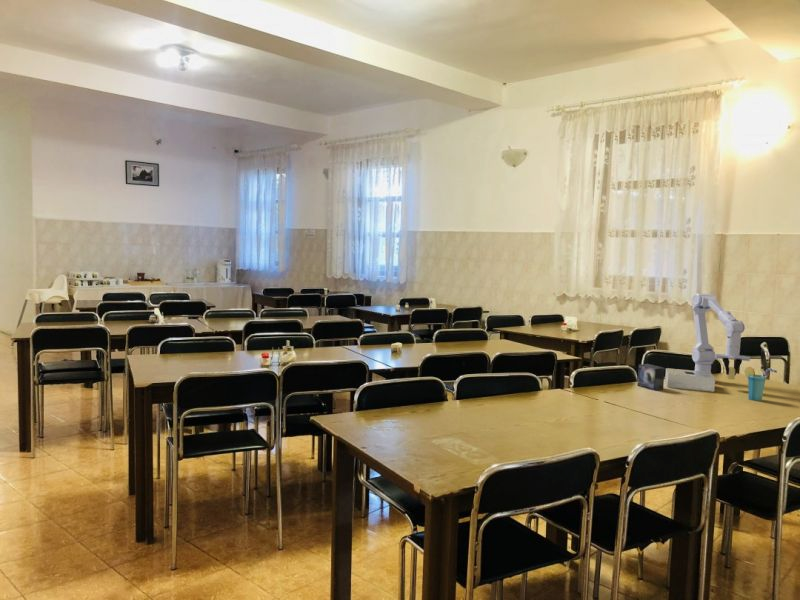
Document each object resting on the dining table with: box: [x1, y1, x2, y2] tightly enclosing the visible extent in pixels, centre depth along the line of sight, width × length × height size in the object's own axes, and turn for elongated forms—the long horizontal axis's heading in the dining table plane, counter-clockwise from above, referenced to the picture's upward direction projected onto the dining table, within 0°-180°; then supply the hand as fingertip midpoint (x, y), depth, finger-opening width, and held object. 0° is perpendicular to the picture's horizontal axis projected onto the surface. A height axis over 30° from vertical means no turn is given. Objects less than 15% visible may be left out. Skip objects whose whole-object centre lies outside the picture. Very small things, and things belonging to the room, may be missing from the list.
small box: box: [636, 363, 666, 391], centre depth 292 cm, size 11×6×10 cm, turn 25°
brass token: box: [726, 366, 736, 380], centre depth 294 cm, size 5×2×5 cm, turn 161°
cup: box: [744, 366, 778, 402], centre depth 273 cm, size 14×8×15 cm, turn 34°
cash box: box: [664, 367, 716, 393], centre depth 298 cm, size 16×20×6 cm
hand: (730, 374), depth 294 cm, fingers closed on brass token, 2 cm apart
